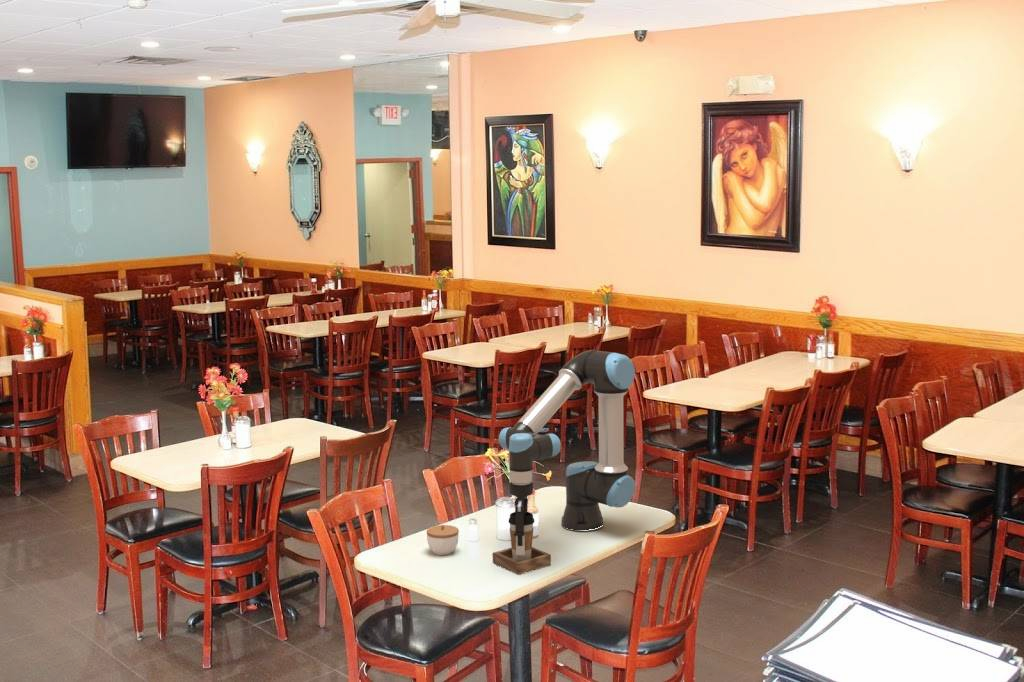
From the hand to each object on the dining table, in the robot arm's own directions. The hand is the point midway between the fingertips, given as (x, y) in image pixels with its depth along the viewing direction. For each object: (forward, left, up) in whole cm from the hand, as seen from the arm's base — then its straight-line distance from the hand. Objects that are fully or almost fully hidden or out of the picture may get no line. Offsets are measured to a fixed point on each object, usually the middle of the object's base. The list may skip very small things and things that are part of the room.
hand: (521, 550), depth 340 cm
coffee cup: (0, 0, -3) cm, 3 cm away
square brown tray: (0, 0, -5) cm, 5 cm away
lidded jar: (+13, -26, -5) cm, 29 cm away
